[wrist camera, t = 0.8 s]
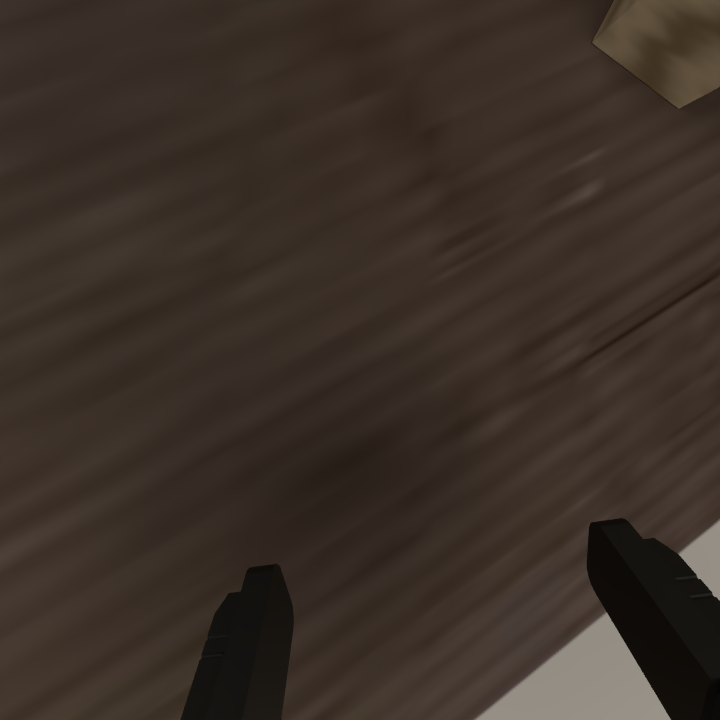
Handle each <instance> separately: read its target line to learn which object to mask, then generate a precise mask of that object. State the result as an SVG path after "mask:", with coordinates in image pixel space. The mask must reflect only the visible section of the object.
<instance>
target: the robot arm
mask: <svg viewBox="0 0 720 720" xmlns="http://www.w3.org/2000/svg"><path fill="white" fill-rule="evenodd" d="M587 571H588V576H589V579H590V582H591V585H592V587H593V589H594V591H595V593H596V595H597V596H598V598H599V600H600V601H601V603H602V605H603V607H604V608H605V610H606V612H607V613H608V615H609V616H610V618H611V620H612V622H613V623H614V625H615V627H616V628H617V630H618V631H619V633H620V635H621V637H622V638H623V640H624V642H625V643H626V645H627V647H628V648H629V650H630V652H631V653H632V655H633V657H634V658H635V660H636V662H637V663H638V665H639V667H640V668H641V670H642V672H643V673H644V675H645V677H646V678H647V680H648V682H649V683H650V685H651V687H652V688H653V690H654V692H655V693H656V695H657V697H658V698H659V700H660V702H661V704H662V705H663V707H664V709H665V710H666V712H667V714H668V715H669V717H670V718H671V720H720V601H719V600H718V599H717V598H716V597H714V596H713V595H712V592H711V591H710V590H709V589H708V587H707V586H706V585H705V584H704V583H703V582H702V580H701V579H698V578H697V576H696V574H695V573H694V572H693V570H692V569H691V568H690V567H689V566H688V565H687V564H686V562H684V560H683V559H682V558H681V557H680V556H679V555H678V554H677V553H676V552H674V551H673V550H671V549H670V548H668V547H667V546H665V545H664V544H662V543H661V542H659V541H658V540H656V539H655V538H650V539H642V537H641V536H640V535H639V534H638V532H637V531H636V530H635V529H634V528H633V526H632V525H631V524H630V523H629V522H628V521H627V520H625V519H623V518H620V519H613V520H605V521H598V522H592V523H591V524H590V526H589V537H588V553H587ZM293 625H294V616H293V606H292V602H291V599H290V596H289V593H288V590H287V586H286V583H285V580H284V577H283V574H282V571H281V568H280V566H279V565H278V564H272V565H265V566H257V567H250V568H249V569H248V570H247V572H246V575H245V579H244V582H243V586H242V590H241V592H234V593H229V594H228V595H227V597H226V598H225V600H224V601H223V602H222V604H221V605H220V607H219V608H218V610H217V611H216V613H215V615H214V618H213V621H212V624H211V627H210V630H209V633H208V640H207V641H206V642H205V646H204V649H203V652H202V658H201V660H200V661H199V664H198V667H197V670H196V673H195V677H194V680H193V683H192V686H191V689H190V692H189V695H188V698H187V701H186V704H185V708H184V711H183V714H182V717H181V720H281V717H282V709H283V702H284V695H285V687H286V680H287V672H288V665H289V657H290V650H291V642H292V635H293Z"/></svg>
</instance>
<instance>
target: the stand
mask: <svg viewBox="0 0 720 720" xmlns="http://www.w3.org/2000/svg"><path fill="white" fill-rule="evenodd" d="M592 43H593V44H594V45H595V46H597V47H598V48H599V49H600V50H602V51H603V52H604V53H606V54H607V55H608V56H610V57H611V58H612V59H614V60H615V61H616V62H618V63H619V64H620V65H622V66H623V67H624V68H625V69H627V70H628V71H629V72H631V73H632V74H633V75H635V76H636V77H637V78H639V79H640V80H641V81H643V82H644V83H645V84H646V85H648V86H649V87H650V88H652V89H653V90H654V91H656V92H657V93H658V94H660V95H661V96H662V97H664V98H665V99H666V100H668V101H669V102H670V103H671V104H673V105H674V106H675V107H677V108H678V109H679V108H681V107H683V106H685V105H687V104H689V103H691V102H692V101H694V100H696V99H698V98H700V97H702V96H704V95H706V94H708V93H710V92H711V91H713V90H715V89H717V88H719V87H720V0H614V1H613V3H612V5H611V7H610V9H609V11H608V13H607V15H606V16H605V18H604V20H603V22H602V24H601V26H600V28H599V30H598V32H597V34H596V35H595V37H594V39H593V41H592Z"/></svg>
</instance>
